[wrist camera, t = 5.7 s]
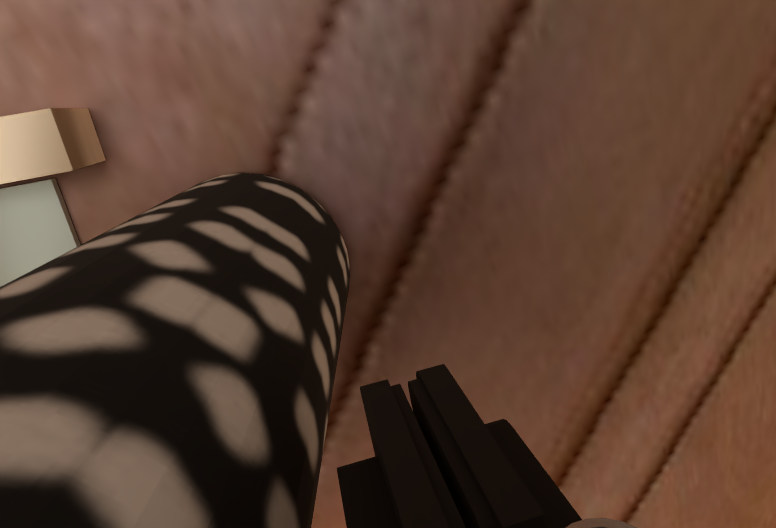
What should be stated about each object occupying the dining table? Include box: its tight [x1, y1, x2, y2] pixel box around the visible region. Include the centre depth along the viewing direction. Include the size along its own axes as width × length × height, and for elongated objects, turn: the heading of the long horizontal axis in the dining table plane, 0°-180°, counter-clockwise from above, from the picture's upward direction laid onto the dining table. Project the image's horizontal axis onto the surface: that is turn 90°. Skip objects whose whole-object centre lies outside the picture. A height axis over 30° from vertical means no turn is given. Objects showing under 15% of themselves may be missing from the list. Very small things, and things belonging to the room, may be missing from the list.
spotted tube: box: [0, 173, 350, 528], centre depth 13 cm, size 8×8×20 cm
